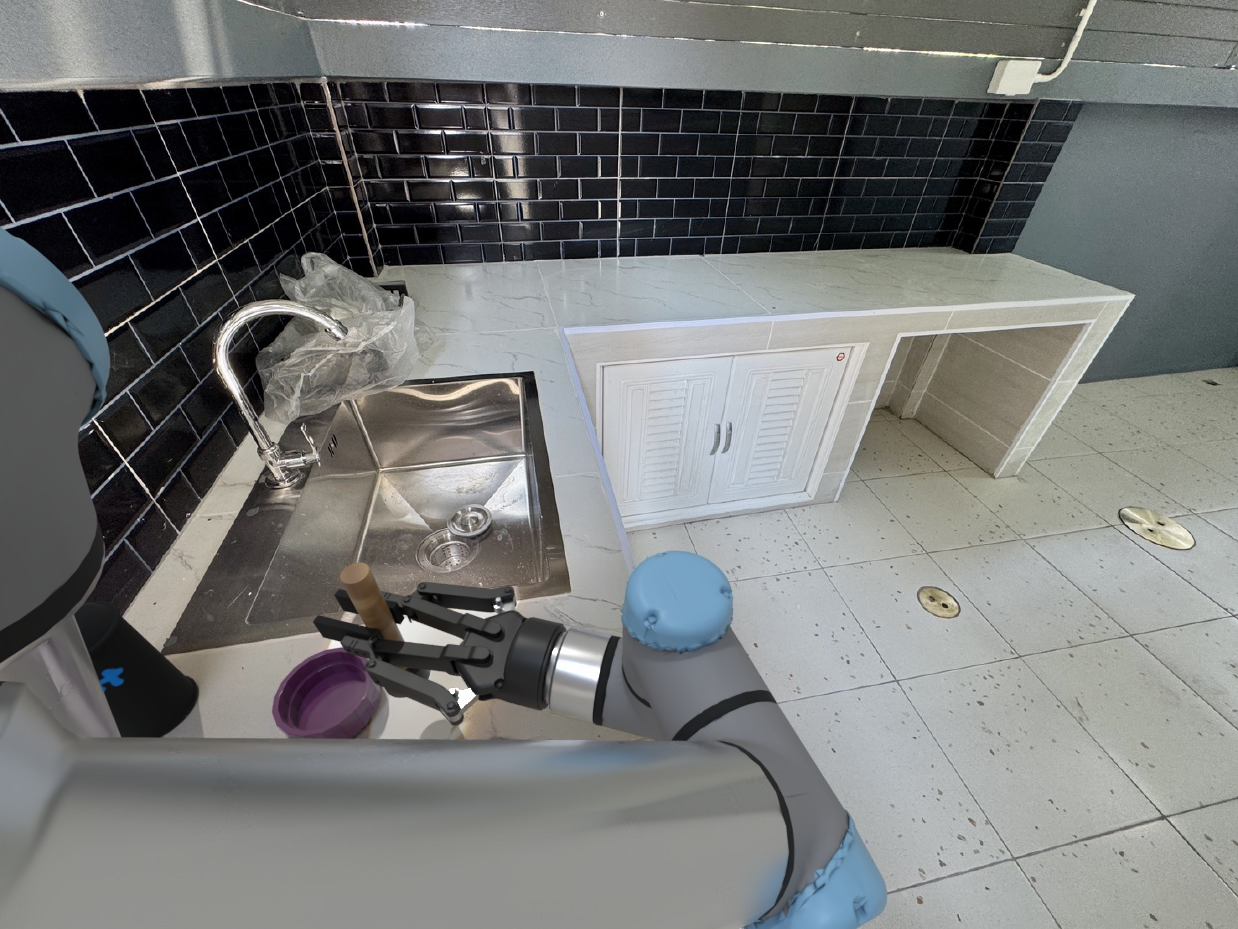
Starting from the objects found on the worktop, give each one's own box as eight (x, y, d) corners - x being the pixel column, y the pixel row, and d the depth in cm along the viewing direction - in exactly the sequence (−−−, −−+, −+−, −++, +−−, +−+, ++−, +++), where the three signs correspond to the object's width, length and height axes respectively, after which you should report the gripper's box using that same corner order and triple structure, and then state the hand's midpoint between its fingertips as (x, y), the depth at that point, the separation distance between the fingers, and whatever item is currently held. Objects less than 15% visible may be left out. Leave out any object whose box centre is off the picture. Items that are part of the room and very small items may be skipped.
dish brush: (395, 707, 53) (335, 606, 41) (377, 674, 55) (316, 570, 44) (438, 678, 55) (393, 575, 44) (418, 648, 58) (371, 543, 46)
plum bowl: (304, 773, 55) (287, 757, 52) (277, 702, 61) (261, 683, 58) (395, 711, 60) (385, 693, 57) (363, 650, 66) (352, 631, 63)
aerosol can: (142, 678, 63) (23, 578, 50) (212, 673, 63) (112, 573, 50) (95, 749, 56) (-55, 655, 44) (174, 743, 57) (48, 648, 44)
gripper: (531, 774, 42) (290, 707, 46) (583, 618, 54) (387, 575, 58) (521, 737, 38) (253, 665, 42) (581, 574, 49) (366, 530, 53)
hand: (331, 613), depth 50 cm, fingers closed on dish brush, 2 cm apart
